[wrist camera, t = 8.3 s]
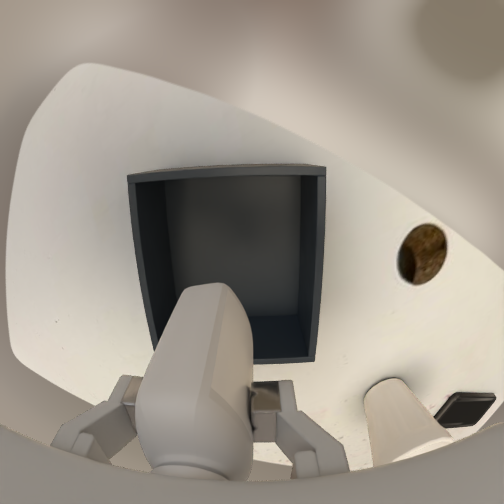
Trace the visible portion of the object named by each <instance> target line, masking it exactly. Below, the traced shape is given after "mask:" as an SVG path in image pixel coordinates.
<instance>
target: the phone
mask: <svg viewBox="0 0 504 504" xmlns="http://www.w3.org/2000/svg"><path fill="white" fill-rule="evenodd" d="M495 400H496V396H495V395H494V394H489V393H455V394H453V395H452V396H451V397H450V398H449V400H448V401H447V402H446V403H445V405H444V406H443V407H442V408H441V410H440V411H439V412H438V413H437V414H436V415H435V417H434V419H435V420H436V421H437V422H438V423H439V425H440V426H442V427H443V428H457V427H467V426H473V425H475V424H476V423H477V422H478V421H479V420H480V419H481V418H482V416H483V415H484V414H485V413H486V412H487V410H488V409H489V408H490V407H491V405H492V404H493V403H494V402H495Z"/></svg>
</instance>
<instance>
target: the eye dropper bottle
mask: <svg viewBox="0 0 504 504" xmlns="http://www.w3.org/2000/svg"><path fill="white" fill-rule="evenodd" d="M251 382H253V338H252V331H251V326H250V323H249V320H248V317H247V314H246V312H245V310H244V308H243V306H242V304H241V302H240V301H239V299H238V298H237V296H236V295H235V293H234V292H233V291H232V290H231V288H230V287H229V286H227V285H226V284H224V283H210V284H203V285H196V286H191V287H188V288H186V289H184V291H183V292H182V294H181V296H180V298H179V300H178V302H177V304H176V306H175V308H174V310H173V312H172V314H171V317H170V319H169V321H168V323H167V325H166V327H165V329H164V331H163V334H162V336H161V338H160V340H159V342H158V345H157V347H156V349H155V351H154V354H153V356H152V358H151V360H150V363H149V365H148V367H147V370H146V372H145V375H144V377H143V380H142V382H141V385H140V387H139V390H138V394H137V398H136V405H135V421H136V429H137V434H138V438H139V442H140V444H141V447H142V450H143V452H144V455H145V457H146V459H147V461H148V462H149V464H150V466H151V467H152V468H153V470H152V471H151V473H155V474H161V475H168V476H175V477H184V478H194V479H206V480H224V481H247V479H248V477H249V475H250V473H251V469H252V464H253V432H252V424H251Z"/></svg>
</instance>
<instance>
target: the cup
mask: <svg viewBox="0 0 504 504" xmlns="http://www.w3.org/2000/svg"><path fill="white" fill-rule="evenodd" d="M364 408H365V414H366V419H367V425H368V432H369V438H370V445H371V452H372V459H373V467H376V466H380V465H384V464H388V463H392V462H396V461H399V460H403V459H407V458H410V457H413V456H416V455H420V454H423V453H426V452H429V451H432V450H435V449H437V448H440V447H443V446H445V445H448V444H451V443H453V442H455V441H454V439H453V437H452V436H451V435H450V433H449V432H448V431H447V430H446V428H443V427H442V426H440V425H439V423H438V422H437V421H436V420H435V419H434V417H433V416H432V415H431V414H430V413H429V411H428V410H427V409H426V408H425V407H424V405H423V404H422V403H421V402H420V401H419V400H418V398H417V397H416V396H415V395H414V394H413V393H412V391H411V390H410V389H409V388H408V387H407V386H406V384H405V383H404V382H403V381H402V380H400V379H397V378H394V379H387V380H384V381H382V382H380V383H378V384H377V385H375V386H374V387H372V388H371V389H370V390H369V391H368V392H367V394H366V396H365V398H364Z"/></svg>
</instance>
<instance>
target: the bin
mask: <svg viewBox="0 0 504 504" xmlns="http://www.w3.org/2000/svg"><path fill="white" fill-rule="evenodd" d="M127 182H128V193H129V204H130V214H131V224H132V232H133V240H134V248H135V255H136V261H137V268H138V274H139V280H140V286H141V292H142V297H143V303H144V308H145V313H146V318H147V322H148V327H149V332H150V336H151V341H152V345H153V349H154V351H155V349H156V347H157V345H158V342H159V340H160V338H161V336H162V334H163V331H164V329H165V327H166V325H167V323H168V321H169V319H170V317H171V314H172V312H173V310H174V308H175V306H176V304H177V302H178V300H179V298H180V296H181V294H182V292H183V291H184V289H186V288H188V287H191V286H196V285H203V284H210V283H224V284H226V285H227V286H229V287H230V288H231V290H232V291H233V292H234V293H235V295H236V296H237V298H238V299H239V301H240V302H241V304H242V306H243V308H244V310H245V312H246V314H247V317H248V320H249V323H250V326H251V331H252V338H253V364H284V363H303V362H314V361H315V354H316V345H317V335H318V325H319V314H320V303H321V290H322V276H323V259H324V239H325V211H326V167H324V166H317V165H309V164H243V165H217V166H199V167H184V168H171V169H160V170H154V171H148V172H142V173H136V174H130V175H127Z"/></svg>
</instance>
